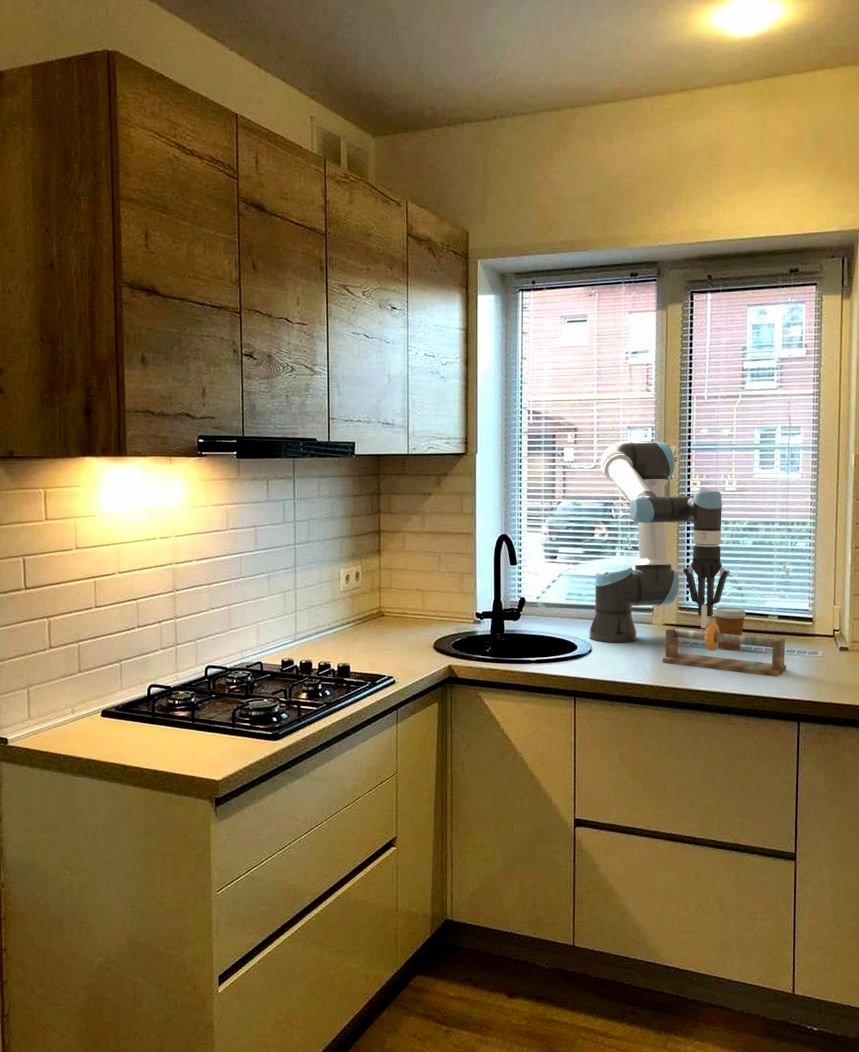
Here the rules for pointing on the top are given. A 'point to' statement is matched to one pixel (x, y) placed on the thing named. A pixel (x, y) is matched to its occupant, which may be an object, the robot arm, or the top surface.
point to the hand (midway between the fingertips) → (705, 627)
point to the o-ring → (711, 636)
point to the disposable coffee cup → (730, 624)
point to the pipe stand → (725, 663)
